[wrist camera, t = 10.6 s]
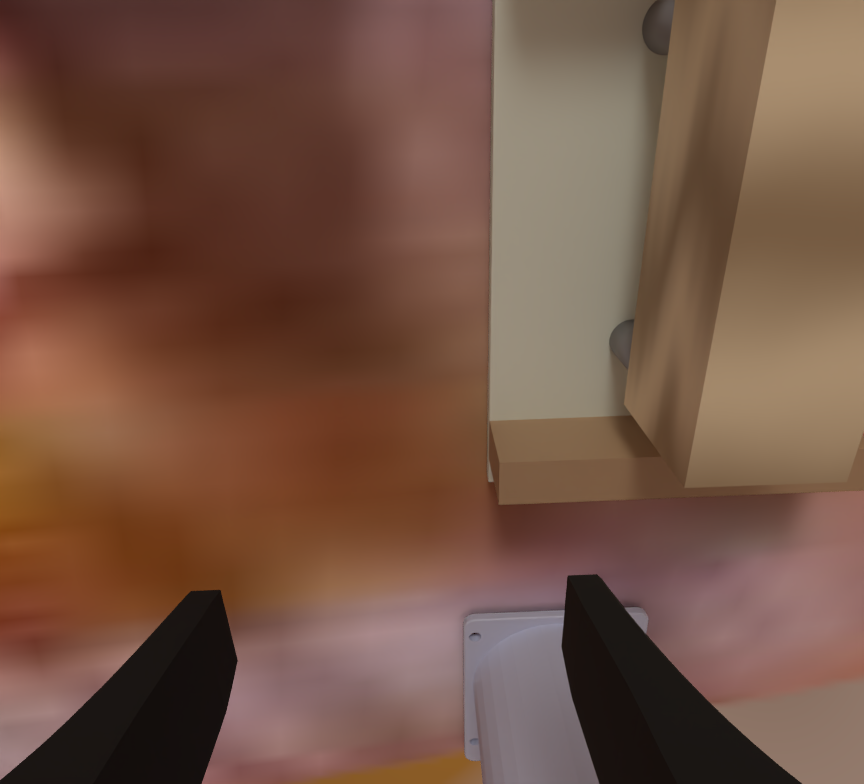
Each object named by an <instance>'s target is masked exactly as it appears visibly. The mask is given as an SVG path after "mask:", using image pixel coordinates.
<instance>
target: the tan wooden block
mask: <svg viewBox="0 0 864 784" xmlns="http://www.w3.org/2000/svg"><path fill="white" fill-rule="evenodd" d="M624 405H625V407H626V408H627V409H628V411H629V412H630V414H631V415H632V416H633V418H634V419H635V420H636V422H637V423H638V425H639V426H640V427H641V429H642V430H643V432H644V433H645V434H646V436H647V437H648V438H649V440H650V441H651V443H652V444H653V445H654V447H655V448H656V450H657V451H658V452H659V454H660V455H661V456H662V458H663V459H664V461H665V462H666V463H667V465H668V466H669V468H670V469H671V470H672V472H673V473H674V474H675V476H676V477H677V479H678V480H679V481H680V483H681V484H682V485H683V487H684V488H700V487H728V486H755V485H782V484H810V483H837V482H847V480H848V477H849V474H850V471H851V468H852V465H853V462H854V459H855V456H856V453H857V450H858V447H859V444H860V441H861V438H862V435H863V432H864V0H675V4H674V12H673V20H672V28H671V35H670V43H669V51H668V59H667V67H666V75H665V83H664V91H663V99H662V107H661V114H660V122H659V130H658V138H657V146H656V154H655V162H654V170H653V178H652V186H651V193H650V201H649V209H648V217H647V225H646V233H645V241H644V249H643V257H642V265H641V272H640V280H639V288H638V296H637V304H636V312H635V320H634V328H633V336H632V343H631V351H630V359H629V367H628V375H627V383H626V391H625V399H624Z"/></svg>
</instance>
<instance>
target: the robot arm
mask: <svg viewBox="0 0 864 784" xmlns="http://www.w3.org/2000/svg"><path fill="white" fill-rule="evenodd" d="M647 626H648V616H647V614H646V612H645V610H644V609H642V608H639V607H626V608H624V607H623V606H622V604H621V603H620V602H619V601H618V599H617V598H616V597H615V595H614V594H613V593H612V592H611V590H610V589H609V588H608V586H607V585H606V584H605V582H604V581H603V580H602V579H601V578H600V577H599V576H598V575H597V574H596V575H572V576H568V578H567V589H566V600H565V610H554V611H530V612H506V613H482V614H471V615H469V616H467V617H466V618H465V619H464V621H463V674H464V751H465V757H466V758H467V759H469V760H471V761H481V769H482V778H483V784H802V783H800V782H799V781H798V780H797V779H795V778H794V777H793V776H792V775H790V774H789V773H788V772H787V771H785V770H784V769H783V768H782V767H780V766H779V765H778V764H777V763H776V762H774V761H773V760H772V759H771V758H770V757H769V756H767V755H766V754H765V753H764V752H763V751H761V750H760V749H759V748H758V747H757V746H756V745H754V744H753V743H752V742H751V741H750V740H749V739H748V738H747V737H746V736H744V735H743V734H742V733H741V732H740V731H739V730H738V729H737V728H736V727H735V726H734V725H732V724H731V723H730V722H729V721H728V720H727V719H726V718H725V717H724V716H723V715H722V714H721V713H720V712H719V711H718V710H717V709H716V708H715V707H714V706H713V705H712V704H711V703H710V702H708V701H707V700H706V699H705V698H704V696H703V695H702V694H701V693H700V692H699V691H698V690H697V689H696V688H695V687H694V686H693V685H692V684H691V683H690V682H689V681H688V680H687V679H686V678H685V677H684V676H683V675H682V674H681V673H680V672H679V671H678V669H677V668H676V667H675V666H674V665H673V664H672V663H671V662H670V661H669V660H668V658H667V657H666V656H665V655H664V654H663V653H662V652H661V651H660V649H659V648H658V647H657V646H656V645H655V644H654V643H653V642H652V640H651V639H650V638H649V637H648V636H647V635H646V632H647ZM472 633H478V634H472ZM237 661H238V660H237V656H236V652H235V648H234V644H233V640H232V636H231V632H230V628H229V623H228V619H227V615H226V611H225V607H224V603H223V599H222V595H221V591H220V590H208V591H191V592H190V593H189V594H188V595H187V596H186V597H185V598H184V599H183V600H182V601H181V602H180V603H179V604H178V605H177V607H176V608H175V609H174V610H173V611H172V612H171V613H170V614H169V615H168V616H167V618H166V619H165V620H164V621H163V622H162V623H161V624H160V625H159V626H158V628H157V629H156V630H155V631H154V632H153V633H152V634H151V635H150V636H149V637H148V639H147V640H146V641H145V642H144V643H143V644H142V645H141V646H140V647H139V648H138V650H137V651H136V652H135V653H134V654H133V655H132V656H131V657H130V658H129V659H128V660H127V661H126V662H125V663H124V664H123V665H122V666H121V668H120V669H119V670H118V671H117V672H116V673H115V674H114V675H113V676H112V677H111V678H110V679H109V680H108V681H107V682H106V683H105V684H104V685H103V686H102V687H101V688H100V689H99V690H98V691H97V692H96V693H95V694H94V695H93V696H92V697H91V698H90V699H89V700H88V701H87V702H86V703H85V704H84V705H83V706H82V707H81V708H80V709H79V710H78V711H77V712H76V713H75V714H74V715H73V716H72V717H71V718H70V719H69V720H68V721H67V722H66V723H65V724H64V725H63V726H62V727H60V728H59V729H58V730H57V731H56V732H55V733H54V734H53V735H52V736H51V737H50V738H49V739H47V740H46V741H45V742H44V743H43V744H42V745H41V746H40V747H39V748H37V749H36V750H35V751H34V752H33V753H32V754H31V755H29V756H28V757H27V758H26V759H25V760H24V761H22V762H21V763H20V764H19V765H18V766H17V767H15V768H14V769H13V770H12V771H11V772H10V773H8V774H7V775H6V776H5V777H4V778H2V779H1V780H0V784H202V781H203V778H204V775H205V772H206V769H207V766H208V763H209V761H210V758H211V755H212V752H213V749H214V746H215V743H216V740H217V737H218V734H219V732H220V729H221V726H222V723H223V720H224V717H225V714H226V710H227V706H228V702H229V697H230V693H231V689H232V684H233V680H234V675H235V670H236V665H237Z"/></svg>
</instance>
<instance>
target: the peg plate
mask: <svg viewBox="0 0 864 784" xmlns="http://www.w3.org/2000/svg"><path fill="white" fill-rule="evenodd" d="M674 4H675V0H492V71H491V159H490V247H489V335H488V423H487V476H488V481H489V482H494V485H495V490H496V495H497V499H498V504H499V505H511V504H536V503H561V502H586V501H611V500H636V499H661V498H686V497H711V496H736V495H761V494H786V493H811V492H836V491H861V490H864V436H862V438H861V441H860V444H859V447H858V450H857V453H856V456H855V459H854V462H853V465H852V468H851V471H850V474H849V477H848V480H847V482H837V483H810V484H782V485H755V486H728V487H700V488H684V487H683V485H682V484H681V483H680V481H679V480H678V479H677V477H676V476H675V474H674V473H673V472H672V470H671V469H670V468H669V466H668V465H667V463H666V462H665V461H664V459H663V458H662V456H661V455H660V454H659V452H658V451H657V450H656V448H655V447H654V445H653V444H652V443H651V441H650V440H649V438H648V437H647V436H646V434H645V433H644V432H643V430H642V429H641V427H640V426H639V425H638V423H637V422H636V420H635V419H634V418H633V416H632V415H631V414H630V412H629V411H628V409H627V408H626V407H625V405H624V399H625V391H626V383H627V375H628V367H629V359H630V351H631V343H632V336H633V328H634V320H635V312H636V304H637V296H638V288H639V280H640V272H641V265H642V257H643V249H644V241H645V233H646V225H647V217H648V209H649V201H650V193H651V186H652V178H653V170H654V162H655V154H656V146H657V138H658V130H659V122H660V114H661V107H662V99H663V91H664V83H665V75H666V67H667V59H668V51H669V43H670V35H671V28H672V20H673V12H674Z"/></svg>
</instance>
